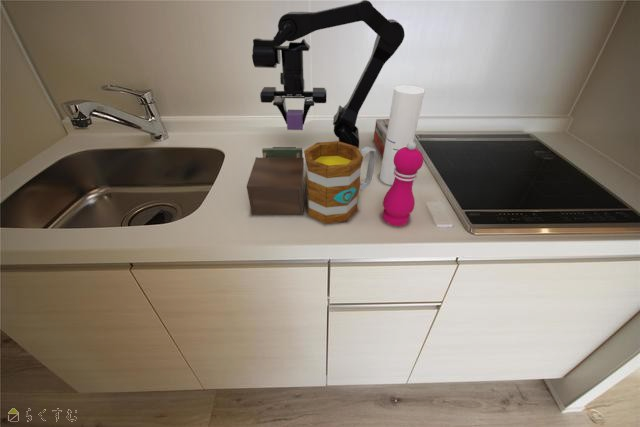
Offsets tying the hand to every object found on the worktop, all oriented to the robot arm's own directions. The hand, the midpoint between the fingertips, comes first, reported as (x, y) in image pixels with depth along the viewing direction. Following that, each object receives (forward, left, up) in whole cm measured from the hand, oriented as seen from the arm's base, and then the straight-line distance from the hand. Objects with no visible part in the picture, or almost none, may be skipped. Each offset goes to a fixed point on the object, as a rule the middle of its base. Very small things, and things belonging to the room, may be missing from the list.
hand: (295, 123), depth 88 cm
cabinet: (+3, +24, -11) cm, 27 cm away
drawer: (+3, +14, -10) cm, 17 cm away
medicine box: (-32, -4, -6) cm, 33 cm away
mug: (-13, +26, -11) cm, 31 cm away
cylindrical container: (-29, +14, -11) cm, 34 cm away
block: (0, 0, -1) cm, 1 cm away
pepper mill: (-26, +32, -11) cm, 43 cm away
